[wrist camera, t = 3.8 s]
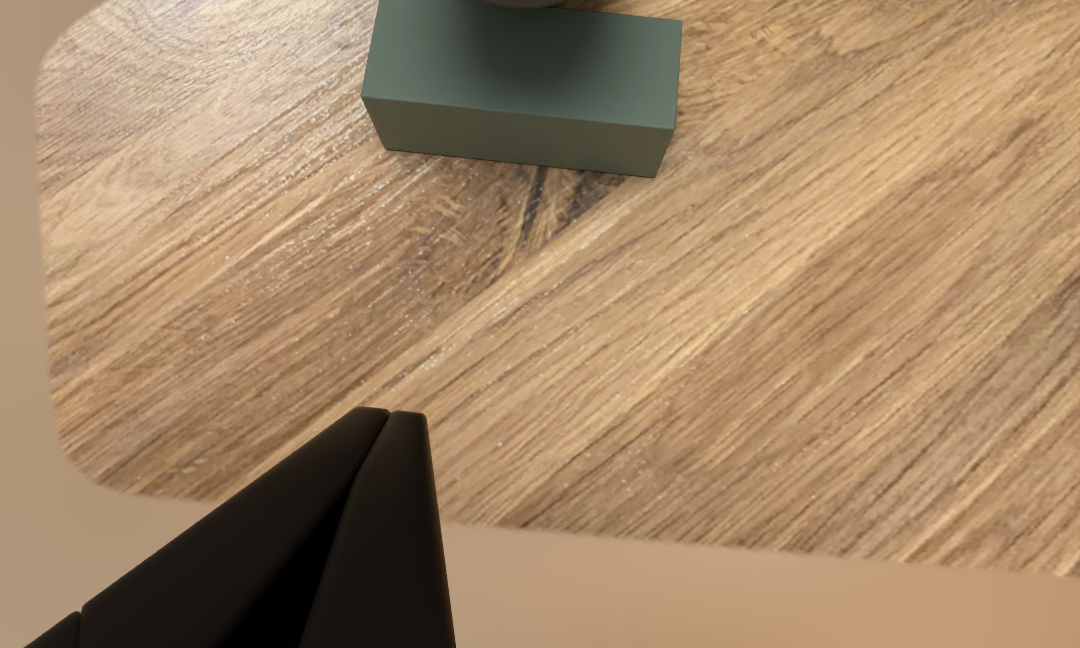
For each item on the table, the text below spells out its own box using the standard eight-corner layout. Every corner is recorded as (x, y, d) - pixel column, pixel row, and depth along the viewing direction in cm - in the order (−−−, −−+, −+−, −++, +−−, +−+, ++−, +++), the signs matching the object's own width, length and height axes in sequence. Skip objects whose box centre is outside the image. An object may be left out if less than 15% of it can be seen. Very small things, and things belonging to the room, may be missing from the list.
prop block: (655, 178, 23) (675, 129, 20) (384, 149, 23) (359, 96, 20) (662, 81, 24) (682, 19, 21) (401, 54, 24) (380, -12, 21)
